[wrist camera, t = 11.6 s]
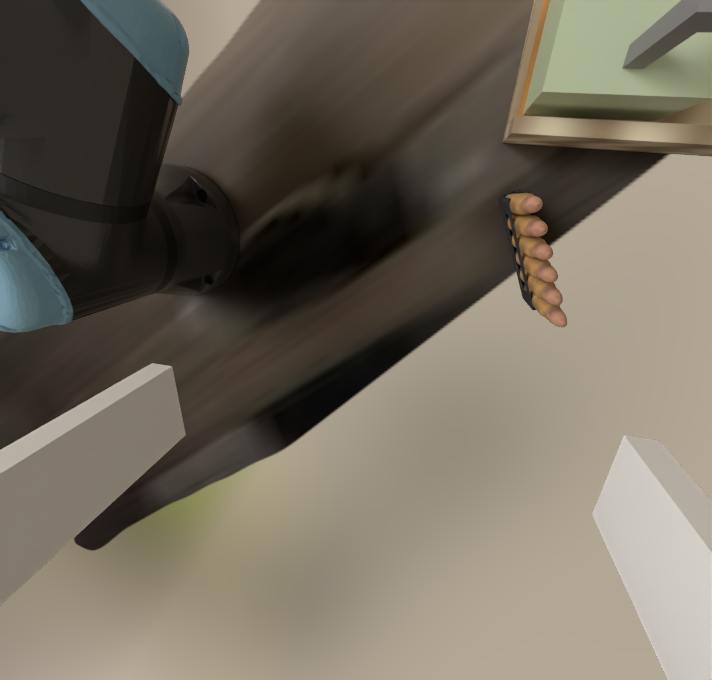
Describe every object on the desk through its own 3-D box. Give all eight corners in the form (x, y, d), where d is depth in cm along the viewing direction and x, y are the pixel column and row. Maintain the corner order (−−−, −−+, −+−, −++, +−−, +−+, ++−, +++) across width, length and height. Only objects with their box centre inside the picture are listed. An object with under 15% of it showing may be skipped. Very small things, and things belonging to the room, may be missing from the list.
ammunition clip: (498, 197, 34) (520, 196, 23) (518, 189, 33) (551, 184, 23) (523, 299, 37) (553, 340, 26) (542, 293, 36) (580, 333, 25)
